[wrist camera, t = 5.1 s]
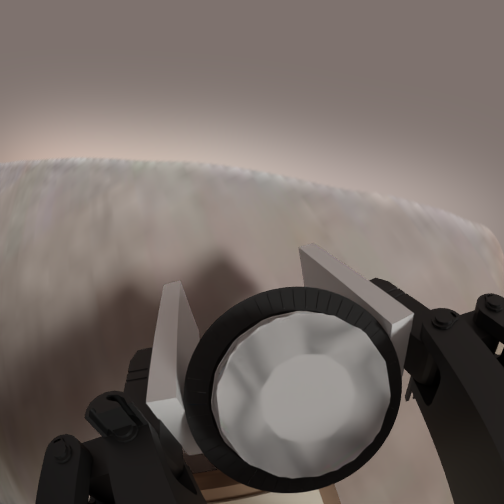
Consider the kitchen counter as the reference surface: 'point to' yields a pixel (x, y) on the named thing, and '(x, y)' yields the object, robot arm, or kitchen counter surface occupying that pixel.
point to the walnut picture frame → (256, 492)
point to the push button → (292, 390)
